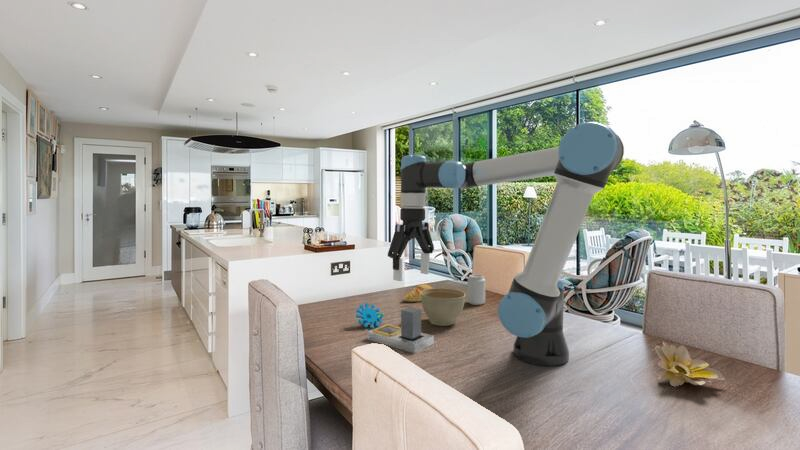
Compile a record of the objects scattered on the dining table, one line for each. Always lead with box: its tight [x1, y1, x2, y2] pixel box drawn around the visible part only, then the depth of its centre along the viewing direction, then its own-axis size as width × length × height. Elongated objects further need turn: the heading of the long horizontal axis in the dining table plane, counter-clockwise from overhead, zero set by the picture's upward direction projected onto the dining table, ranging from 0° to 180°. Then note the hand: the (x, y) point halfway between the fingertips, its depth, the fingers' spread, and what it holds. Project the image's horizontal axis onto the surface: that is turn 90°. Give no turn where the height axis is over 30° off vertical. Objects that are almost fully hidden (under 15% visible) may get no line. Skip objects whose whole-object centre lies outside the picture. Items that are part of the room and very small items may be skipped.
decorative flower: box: [654, 341, 726, 387], centre depth 100 cm, size 15×11×10 cm
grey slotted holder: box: [366, 323, 435, 354], centre depth 130 cm, size 19×10×3 cm, turn 51°
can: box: [466, 274, 486, 306], centre depth 175 cm, size 8×8×12 cm
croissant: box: [402, 283, 434, 303], centre depth 183 cm, size 21×10×8 cm
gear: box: [355, 302, 386, 330], centre depth 147 cm, size 11×6×10 cm
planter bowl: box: [421, 287, 466, 327], centre depth 149 cm, size 16×16×11 cm
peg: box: [400, 306, 422, 341], centre depth 127 cm, size 4×4×11 cm
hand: (411, 277), depth 126 cm, fingers open, 13 cm apart
